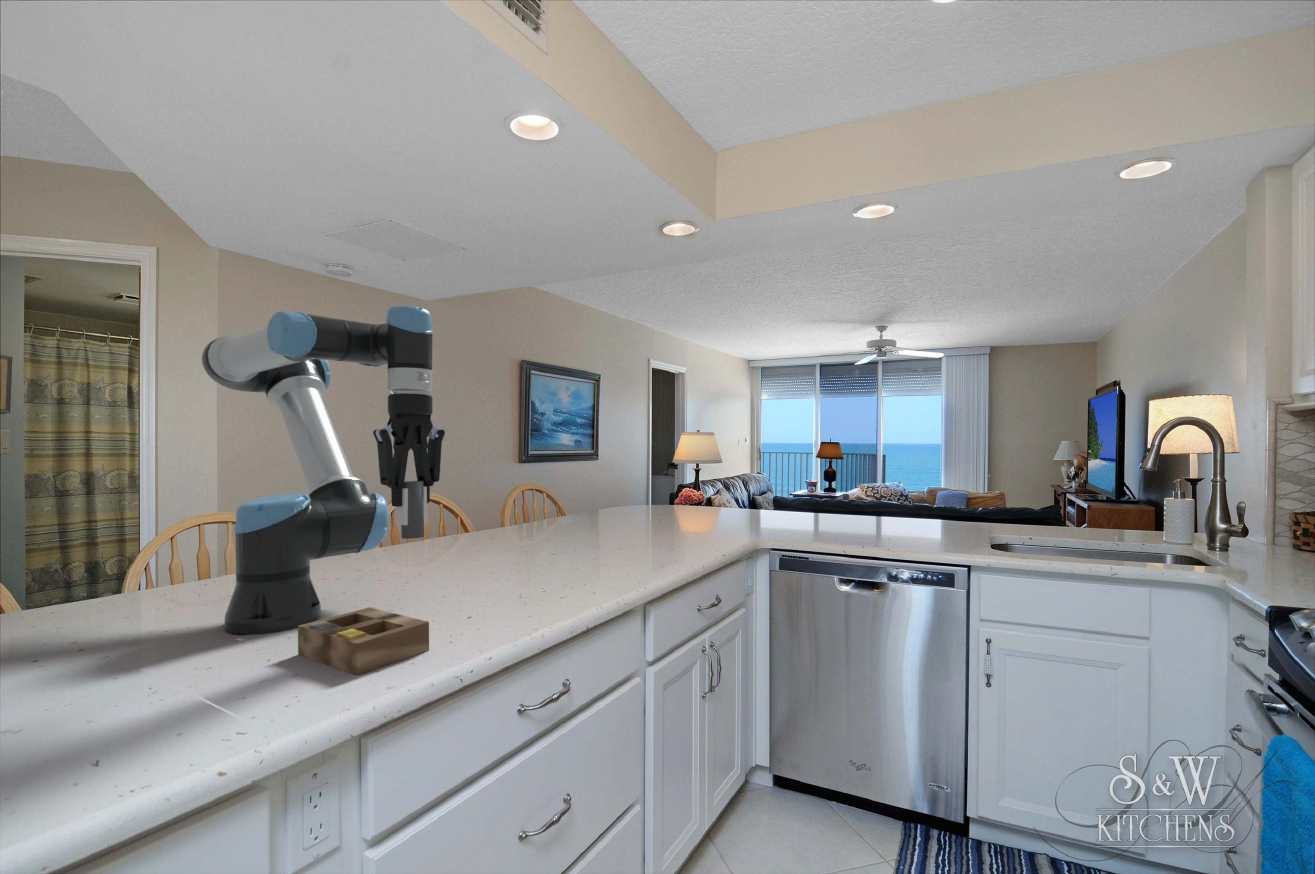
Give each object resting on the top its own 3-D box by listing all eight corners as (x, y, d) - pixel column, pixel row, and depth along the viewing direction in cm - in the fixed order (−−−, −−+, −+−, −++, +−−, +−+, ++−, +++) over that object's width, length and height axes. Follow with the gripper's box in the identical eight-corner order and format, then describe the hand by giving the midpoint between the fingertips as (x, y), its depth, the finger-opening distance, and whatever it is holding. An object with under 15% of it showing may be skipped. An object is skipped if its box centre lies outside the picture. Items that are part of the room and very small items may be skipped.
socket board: (298, 654, 96) (297, 623, 96) (369, 633, 106) (369, 605, 106) (357, 675, 87) (357, 640, 87) (429, 650, 97) (428, 619, 97)
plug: (397, 537, 110) (396, 482, 110) (415, 534, 113) (414, 480, 113) (410, 539, 108) (409, 482, 108) (428, 536, 111) (427, 481, 111)
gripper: (381, 390, 102) (382, 530, 102) (460, 395, 116) (461, 519, 116) (355, 391, 106) (356, 527, 106) (434, 396, 120) (435, 516, 120)
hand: (411, 522), depth 111 cm, fingers closed on plug, 3 cm apart
